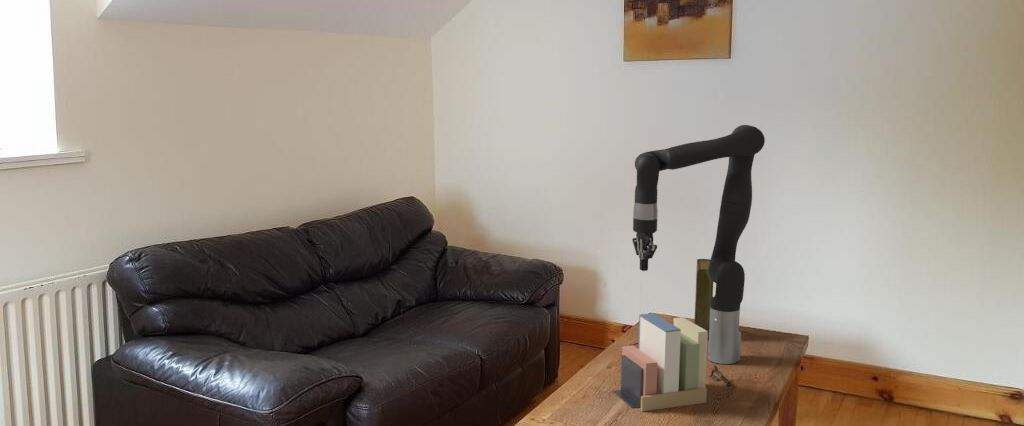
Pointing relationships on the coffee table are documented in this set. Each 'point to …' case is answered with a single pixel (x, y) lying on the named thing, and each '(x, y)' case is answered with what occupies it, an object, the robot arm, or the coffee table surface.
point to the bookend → (630, 383)
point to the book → (703, 294)
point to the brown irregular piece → (714, 368)
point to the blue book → (661, 349)
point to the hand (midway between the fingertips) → (643, 270)
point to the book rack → (689, 370)
